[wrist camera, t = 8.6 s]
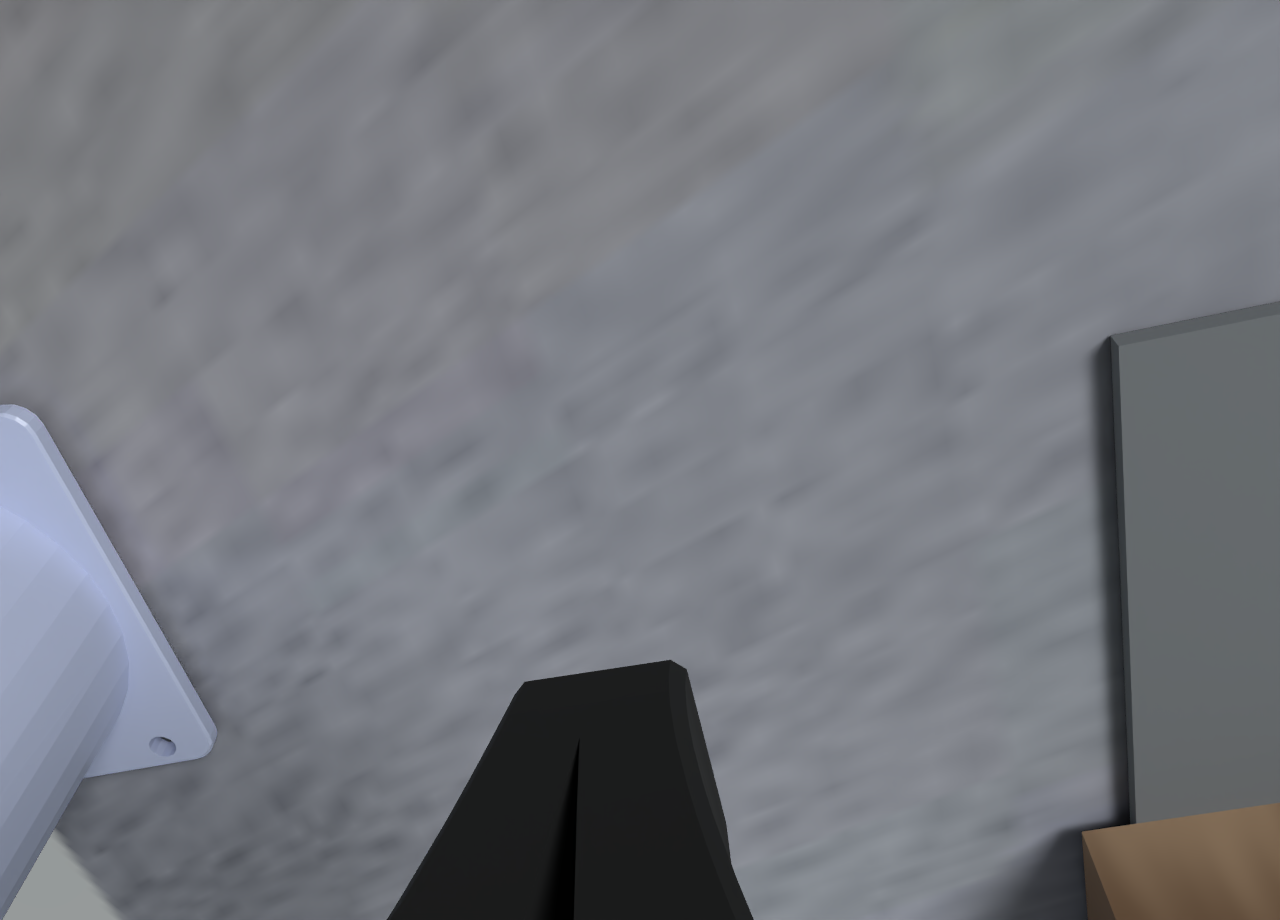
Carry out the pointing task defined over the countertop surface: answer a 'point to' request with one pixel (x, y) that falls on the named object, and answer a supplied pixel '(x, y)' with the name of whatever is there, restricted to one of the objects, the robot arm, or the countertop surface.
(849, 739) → the countertop surface
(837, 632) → the countertop surface
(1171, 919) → the wooden block
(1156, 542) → the mat
